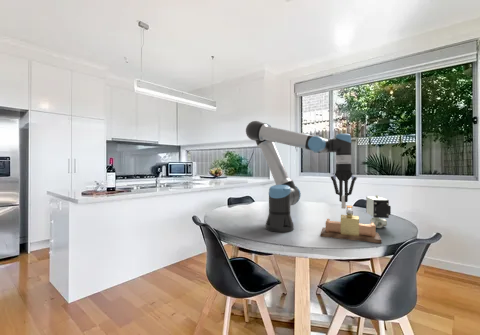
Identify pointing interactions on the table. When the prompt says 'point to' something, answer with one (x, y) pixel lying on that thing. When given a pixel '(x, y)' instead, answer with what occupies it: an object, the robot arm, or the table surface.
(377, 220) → the ball valve
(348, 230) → the valve body
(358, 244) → the table surface
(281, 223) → the robot arm
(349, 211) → the lever
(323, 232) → the pipe board
